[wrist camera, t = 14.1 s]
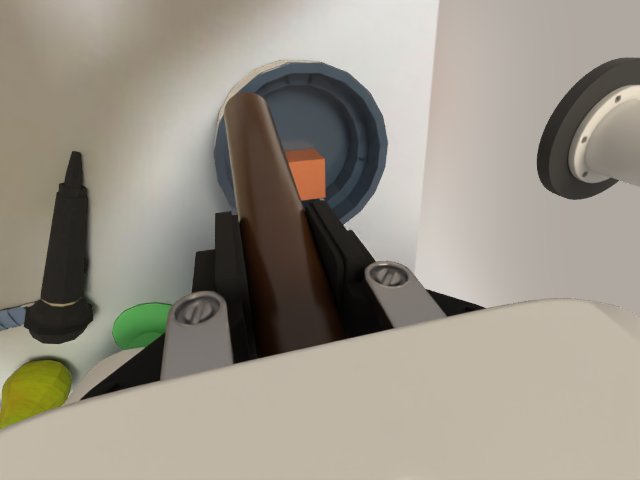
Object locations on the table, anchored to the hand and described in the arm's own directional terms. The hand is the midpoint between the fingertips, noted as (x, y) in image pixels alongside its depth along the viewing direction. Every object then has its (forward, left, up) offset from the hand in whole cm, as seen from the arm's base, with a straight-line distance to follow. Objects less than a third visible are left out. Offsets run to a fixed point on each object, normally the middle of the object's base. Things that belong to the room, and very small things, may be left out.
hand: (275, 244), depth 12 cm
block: (-5, +5, -23) cm, 24 cm away
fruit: (+26, +27, -24) cm, 44 cm away
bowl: (-5, +2, -24) cm, 24 cm away
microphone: (+14, +2, -23) cm, 27 cm away
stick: (0, -3, -8) cm, 9 cm away
